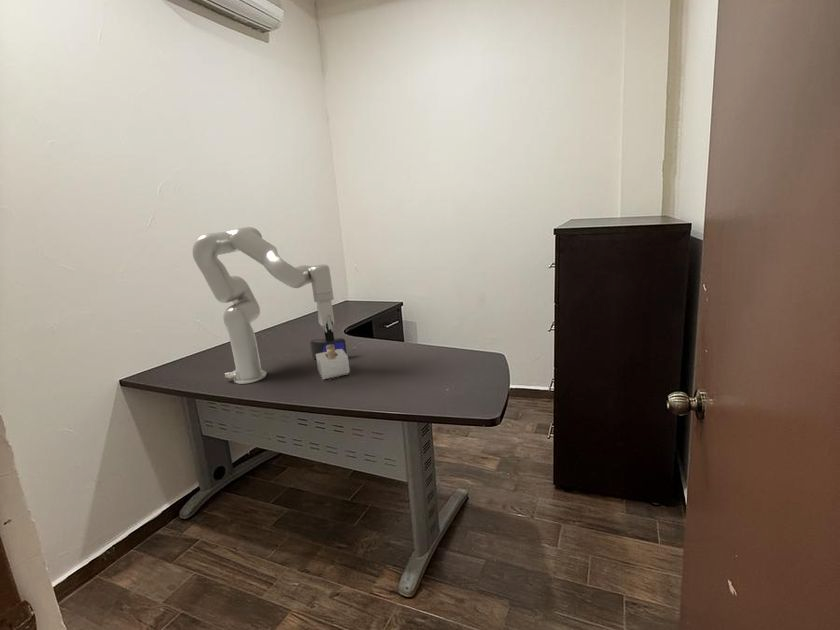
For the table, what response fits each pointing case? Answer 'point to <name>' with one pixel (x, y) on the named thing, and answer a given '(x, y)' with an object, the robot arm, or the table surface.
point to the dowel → (330, 350)
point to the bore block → (332, 364)
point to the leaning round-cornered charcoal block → (321, 344)
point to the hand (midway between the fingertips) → (330, 341)
